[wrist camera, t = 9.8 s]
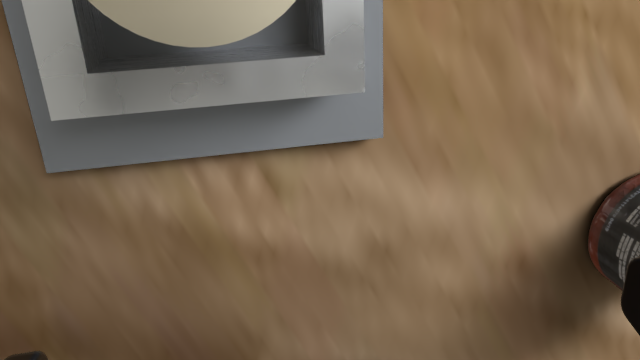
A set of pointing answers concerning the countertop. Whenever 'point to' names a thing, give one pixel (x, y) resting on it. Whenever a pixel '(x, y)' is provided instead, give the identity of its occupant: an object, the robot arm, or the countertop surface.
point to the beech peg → (194, 19)
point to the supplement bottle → (616, 232)
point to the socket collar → (190, 64)
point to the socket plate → (203, 122)
